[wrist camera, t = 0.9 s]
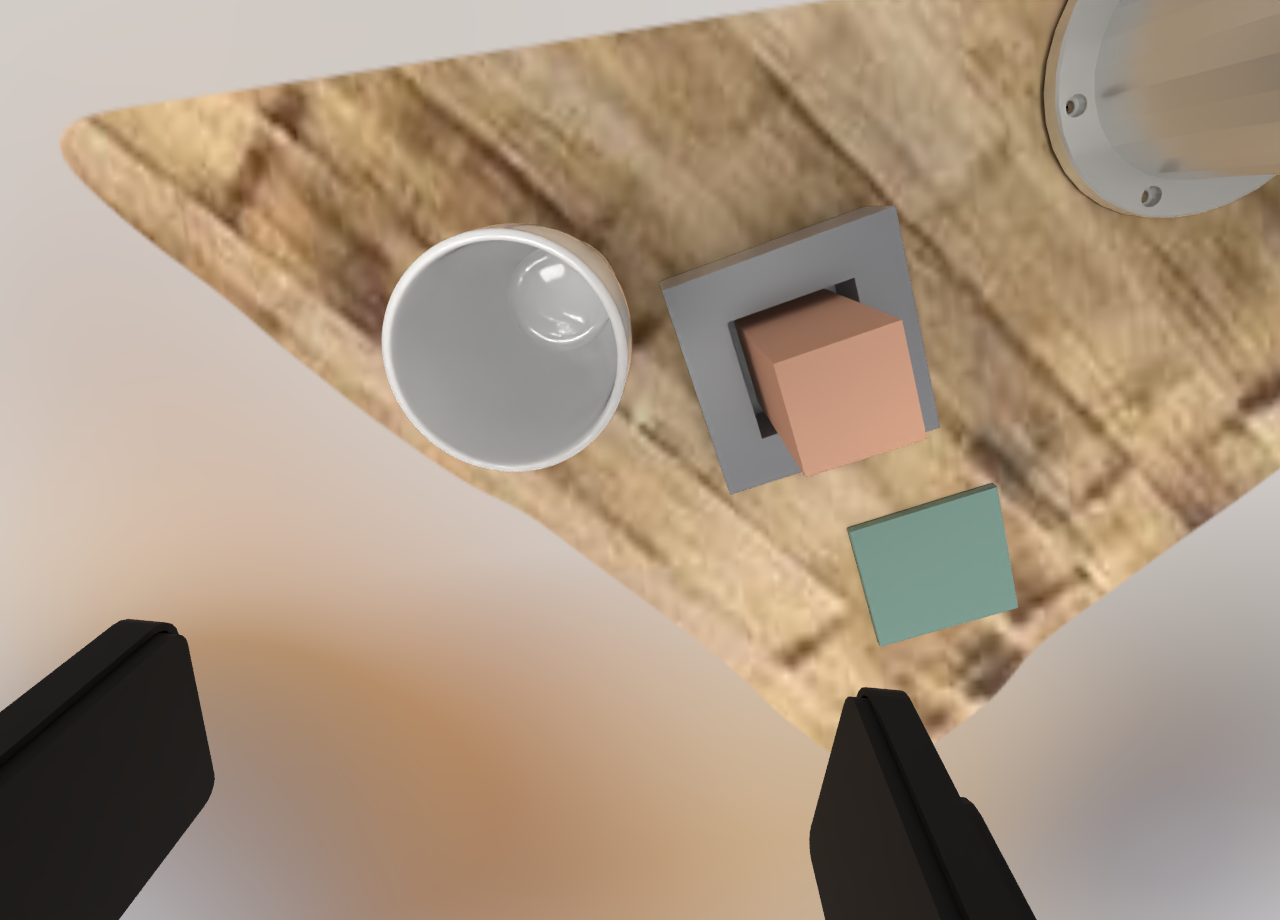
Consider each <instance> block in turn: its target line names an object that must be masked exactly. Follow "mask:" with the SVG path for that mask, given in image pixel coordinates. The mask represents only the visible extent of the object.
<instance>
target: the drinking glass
mask: <svg viewBox="0 0 1280 920" xmlns="http://www.w3.org/2000/svg"><path fill="white" fill-rule="evenodd" d="M382 354H383V362H384V367H385V371H386V375H387V378H388V381H389V384H390V387H391V389H392V392H393V394H394V396H395V398H396V400H397V402H398V404H399V405H400V407H401V409H402V410H403V412H404V413H405V415H406V416H407V418H408V419H409V420H410V421H411V423H412V424H413V425H414V426H415V427H416V428H417V429H418V431H419V432H420V433H421V434H422V435H423V436H424V437H426V438H427V439H428V440H429V441H430V442H432V443H433V444H434V445H435V446H437V447H438V448H440V449H441V450H442V451H444V452H446V453H447V454H449V455H451V456H453V457H455V458H457V459H459V460H461V461H463V462H466V463H468V464H471V465H474V466H477V467H481V468H484V469H489V470H495V471H503V472H524V471H532V470H538V469H542V468H546V467H550V466H553V465H555V464H558V463H560V462H563V461H565V460H567V459H569V458H571V457H572V456H574V455H576V454H577V453H579V452H580V451H582V450H583V449H584V448H586V447H587V446H588V445H589V444H591V443H592V442H593V441H594V440H595V439H596V438H597V437H598V436H599V435H600V433H601V432H602V431H603V430H604V429H605V427H606V426H607V424H608V423H609V422H610V420H611V419H612V417H613V415H614V413H615V411H616V409H617V407H618V405H619V403H620V400H621V398H622V394H623V391H624V388H625V384H626V380H627V377H628V372H629V367H630V362H631V354H632V325H631V317H630V312H629V307H628V304H627V301H626V297H625V295H624V292H623V290H622V287H621V285H620V283H619V281H618V280H617V278H616V275H615V273H614V271H613V269H612V267H611V265H610V264H609V262H608V261H607V259H606V258H605V257H604V256H603V255H602V254H601V253H600V252H599V251H598V250H597V249H596V248H594V247H593V246H591V245H590V244H588V243H586V242H584V241H582V240H579V239H577V238H575V237H573V236H572V235H570V234H567V233H565V232H563V231H560V230H557V229H554V228H551V227H547V226H542V225H537V224H528V223H506V224H496V225H490V226H486V227H481V228H477V229H474V230H470V231H467V232H464V233H461V234H458V235H455V236H452V237H450V238H448V239H445V240H443V241H441V242H439V243H438V244H436V245H434V246H433V247H431V248H430V249H428V250H427V251H426V252H424V253H423V254H422V255H421V256H420V257H418V258H417V259H416V260H415V261H414V262H413V263H412V264H411V265H410V267H409V268H408V269H407V270H406V271H405V273H404V274H403V275H402V277H401V278H400V280H399V281H398V283H397V285H396V287H395V289H394V291H393V292H392V295H391V297H390V300H389V302H388V305H387V309H386V312H385V316H384V322H383V328H382Z"/></svg>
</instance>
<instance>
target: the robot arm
mask: <svg viewBox="0 0 1280 920" xmlns="http://www.w3.org/2000/svg"><path fill="white" fill-rule="evenodd" d="M1066 103H1067V105H1068V111H1067V112H1066ZM1044 105H1045V119H1046V126H1047V129H1048V133H1049V137H1050V140H1051V144H1052V148H1053V151H1054V153H1055V155H1056V156H1057V158H1058V160H1059V162H1060V164H1061V166H1062V168H1063V170H1064V172H1065V173H1066V175H1067V176H1068V177H1069V178H1070V179H1071V180H1072V181H1073V183H1074V184H1075V185H1076V186H1077V187H1078V188H1079V190H1080V191H1081V192H1083V193H1084V194H1085V195H1087V196H1088V197H1090V198H1091V199H1092V200H1094V201H1095V202H1097V203H1098V204H1100V205H1101V206H1104V207H1106V208H1109V209H1111V210H1114V211H1116V212H1119V213H1122V214H1126V215H1132V216H1139V217H1146V218H1176V217H1182V216H1189V215H1195V214H1202V213H1205V212H1208V211H1210V210H1213V209H1216V208H1219V207H1222V206H1225V205H1228V204H1231V203H1232V202H1234V201H1236V200H1238V199H1240V198H1242V197H1244V196H1246V195H1247V194H1249V193H1251V192H1253V191H1255V190H1257V189H1258V188H1260V187H1261V186H1262V185H1264V184H1265V183H1267V182H1268V181H1269V180H1271V179H1272V178H1273V177H1275V176H1276V175H1277V174H1280V0H1068V2H1067V4H1066V7H1065V9H1064V11H1063V14H1062V16H1061V18H1060V20H1059V23H1058V25H1057V27H1056V30H1055V34H1054V37H1053V41H1052V45H1051V49H1050V52H1049V56H1048V60H1047V66H1046V76H1045V86H1044ZM214 780H215V778H214V771H213V765H212V761H211V755H210V751H209V746H208V741H207V736H206V731H205V726H204V721H203V716H202V711H201V707H200V701H199V697H198V691H197V687H196V682H195V677H194V672H193V667H192V662H191V657H190V652H189V647H188V643H187V640H186V638H184V636H182V635H179V634H178V631H177V629H176V627H174V626H173V625H172V624H170V623H165V622H154V621H144V620H133V619H126V620H121V621H119V622H117V623H116V624H114V625H112V626H111V627H110V628H108V629H107V630H106V631H105V632H103V633H102V634H101V635H99V636H98V637H97V638H96V639H94V640H93V641H92V642H91V643H89V644H88V645H86V646H85V647H84V648H83V649H81V650H80V651H79V652H77V653H76V654H75V655H74V656H72V657H71V658H70V659H68V660H67V661H66V662H65V663H63V664H62V665H61V666H59V667H58V668H57V669H55V670H54V671H53V672H52V673H50V674H49V675H48V676H46V677H45V678H44V679H43V680H41V681H40V682H39V683H37V684H36V685H35V686H33V687H32V688H31V689H30V690H28V691H27V692H26V693H24V694H23V695H22V696H21V697H19V698H18V699H17V700H15V701H14V702H13V703H12V704H10V705H9V706H8V707H6V708H5V709H4V710H2V711H1V712H0V920H119V919H120V917H121V916H122V915H123V913H124V912H125V911H126V909H127V908H128V907H129V905H130V904H131V903H132V901H133V900H134V899H135V897H136V896H137V895H138V894H139V892H140V891H141V890H142V888H143V887H144V885H145V884H146V883H147V881H148V880H149V879H150V878H151V876H152V875H153V874H154V872H155V871H156V870H157V868H158V867H159V865H160V864H161V863H162V862H163V860H164V859H165V858H166V856H167V855H168V854H169V852H170V851H171V850H172V848H173V847H174V846H175V844H176V843H177V842H178V840H179V839H180V838H181V836H182V835H183V833H184V832H185V831H186V830H187V828H188V827H189V826H190V824H191V823H192V822H193V820H194V819H195V818H196V816H197V815H198V814H199V812H200V811H201V810H202V808H203V807H204V806H205V804H206V803H207V801H208V799H209V797H210V795H211V793H212V789H213V786H214ZM809 840H810V855H811V861H812V865H813V869H814V873H815V878H816V882H817V886H818V890H819V895H820V898H821V903H822V907H823V912H824V916H825V920H1036V918H1035V916H1034V914H1033V912H1032V910H1031V909H1030V906H1029V905H1028V903H1027V901H1026V899H1025V897H1024V896H1023V893H1022V891H1021V890H1020V888H1019V886H1018V884H1017V882H1016V880H1015V878H1014V876H1013V874H1012V873H1011V871H1010V869H1009V867H1008V865H1007V863H1006V861H1005V859H1004V857H1003V856H1002V854H1001V852H1000V850H999V848H998V846H997V844H996V843H995V840H994V839H993V837H992V835H991V833H990V831H989V829H988V827H987V825H986V824H985V822H984V820H983V818H982V816H981V814H980V813H979V812H978V810H977V808H976V807H975V806H974V804H973V803H972V802H970V801H969V800H968V799H967V798H964V797H960V796H959V794H958V792H957V790H956V788H955V786H954V784H953V782H952V780H951V778H950V776H949V774H948V772H947V770H946V768H945V766H944V764H943V762H942V760H941V759H940V757H939V755H938V753H937V751H936V749H935V747H934V745H933V743H932V741H931V739H930V737H929V735H928V733H927V731H926V729H925V727H924V725H923V723H922V721H921V719H920V717H919V715H918V713H917V711H916V710H915V708H914V706H913V704H912V702H911V700H910V698H909V697H908V695H907V694H906V693H905V692H903V691H900V690H889V689H878V688H868V687H864V688H861V689H860V690H859V692H858V694H857V697H847V699H846V700H845V703H844V706H843V709H842V713H841V717H840V721H839V724H838V728H837V732H836V736H835V739H834V743H833V747H832V751H831V754H830V758H829V762H828V765H827V769H826V773H825V777H824V780H823V784H822V788H821V792H820V796H819V799H818V803H817V807H816V810H815V814H814V818H813V821H812V825H811V830H810V839H809Z"/></svg>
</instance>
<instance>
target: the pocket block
mask: <svg viewBox="0 0 1280 920" xmlns="http://www.w3.org/2000/svg"><path fill="white" fill-rule="evenodd" d="M659 283H660V287H661V290H662V293H663V296H664V299H665V302H666V305H667V308H668V311H669V314H670V317H671V320H672V323H673V326H674V329H675V332H676V335H677V338H678V341H679V344H680V347H681V350H682V353H683V356H684V359H685V362H686V365H687V368H688V371H689V374H690V377H691V380H692V383H693V386H694V389H695V392H696V395H697V398H698V401H699V404H700V407H701V410H702V413H703V415H704V418H705V421H706V424H707V427H708V430H709V433H710V436H711V439H712V442H713V445H714V448H715V451H716V454H717V457H718V460H719V463H720V466H721V469H722V472H723V475H724V478H725V481H726V484H727V487H728V490H729V493H730V495H731V494H734V493H737V492H740V491H744V490H747V489H750V488H753V487H756V486H759V485H762V484H765V483H768V482H772V481H775V480H778V479H781V478H784V477H787V476H790V475H793V474H796V473H800V472H802V471H801V469H800V467H799V466H798V464H797V463H796V461H795V460H794V458H793V456H792V455H791V453H790V452H789V450H788V449H787V447H786V445H785V444H784V442H783V441H782V439H781V437H780V436H779V434H778V433H777V431H776V430H775V428H774V426H773V425H772V423H771V422H770V420H769V418H768V417H767V415H766V414H765V412H764V411H763V409H762V407H761V406H760V404H759V403H758V400H757V397H756V394H755V390H754V387H753V384H752V380H751V377H750V374H749V370H748V367H747V364H746V360H745V357H744V354H743V350H742V347H741V344H740V341H739V337H738V334H737V331H736V327H735V324H734V321H733V320H736V319H739V318H742V317H745V316H748V315H750V314H753V313H756V312H759V311H762V310H764V309H767V308H770V307H773V306H776V305H779V304H781V303H784V302H787V301H790V300H793V299H795V298H798V297H801V296H804V295H807V294H810V293H812V292H815V291H818V290H821V289H827V290H829V291H832V292H834V293H837V294H839V295H842V296H844V297H847V298H849V299H852V300H854V301H857V302H859V303H862V304H864V305H867V306H869V307H871V308H874V309H876V310H879V311H881V312H884V313H886V314H889V315H891V316H894V317H896V318H899V319H901V320H902V322H903V326H904V331H905V336H906V341H907V346H908V350H909V355H910V360H911V365H912V369H913V374H914V379H915V384H916V389H917V393H918V398H919V403H920V408H921V412H922V417H923V422H924V427H925V432H927V431H930V430H933V429H936V428H940V425H939V420H938V415H937V410H936V405H935V400H934V395H933V390H932V385H931V380H930V375H929V370H928V365H927V360H926V355H925V350H924V345H923V340H922V335H921V330H920V325H919V320H918V315H917V310H916V305H915V300H914V295H913V290H912V285H911V280H910V275H909V270H908V265H907V260H906V255H905V250H904V245H903V240H902V235H901V230H900V225H899V220H898V215H897V210H896V206H869V207H861V208H858V209H856V210H853V211H850V212H848V213H845V214H842V215H839V216H837V217H834V218H831V219H829V220H826V221H823V222H820V223H818V224H815V225H812V226H809V227H807V228H804V229H801V230H799V231H796V232H793V233H790V234H788V235H785V236H782V237H780V238H777V239H774V240H771V241H769V242H766V243H763V244H760V245H758V246H755V247H752V248H750V249H747V250H744V251H741V252H739V253H736V254H733V255H731V256H728V257H725V258H722V259H720V260H717V261H714V262H711V263H709V264H706V265H703V266H701V267H698V268H695V269H692V270H690V271H687V272H684V273H682V274H679V275H676V276H673V277H671V278H668V279H665V280H662V281H660V282H659Z"/></svg>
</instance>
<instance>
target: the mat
mask: <svg viewBox="0 0 1280 920" xmlns="http://www.w3.org/2000/svg"><path fill="white" fill-rule="evenodd" d="M847 530H848V534H849V537H850V541H851V545H852V548H853V552H854V556H855V560H856V563H857V567H858V571H859V574H860V578H861V582H862V585H863V589H864V593H865V597H866V600H867V604H868V608H869V611H870V615H871V619H872V622H873V626H874V630H875V634H876V637H877V641H878V643H879V645H880V647H881V646H885V645H888V644H892V643H896V642H899V641H903V640H906V639H910V638H913V637H917V636H920V635H924V634H927V633H931V632H934V631H938V630H941V629H945V628H948V627H952V626H955V625H959V624H962V623H966V622H969V621H973V620H976V619H980V618H984V617H987V616H991V615H994V614H998V613H1001V612H1005V611H1008V610H1012V609H1015V608H1018V605H1017V599H1016V593H1015V587H1014V582H1013V576H1012V570H1011V564H1010V558H1009V553H1008V547H1007V541H1006V535H1005V530H1004V524H1003V518H1002V512H1001V506H1000V501H999V495H998V489H997V487H996V486H995V485H994V484H993V483H992V484H989V485H985V486H982V487H979V488H976V489H972V490H969V491H966V492H963V493H959V494H956V495H953V496H950V497H946V498H943V499H940V500H937V501H933V502H930V503H927V504H924V505H921V506H917V507H914V508H911V509H908V510H904V511H901V512H898V513H895V514H891V515H888V516H885V517H882V518H878V519H875V520H872V521H869V522H865V523H862V524H859V525H856V526H852V527H849V528H847Z"/></svg>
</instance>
